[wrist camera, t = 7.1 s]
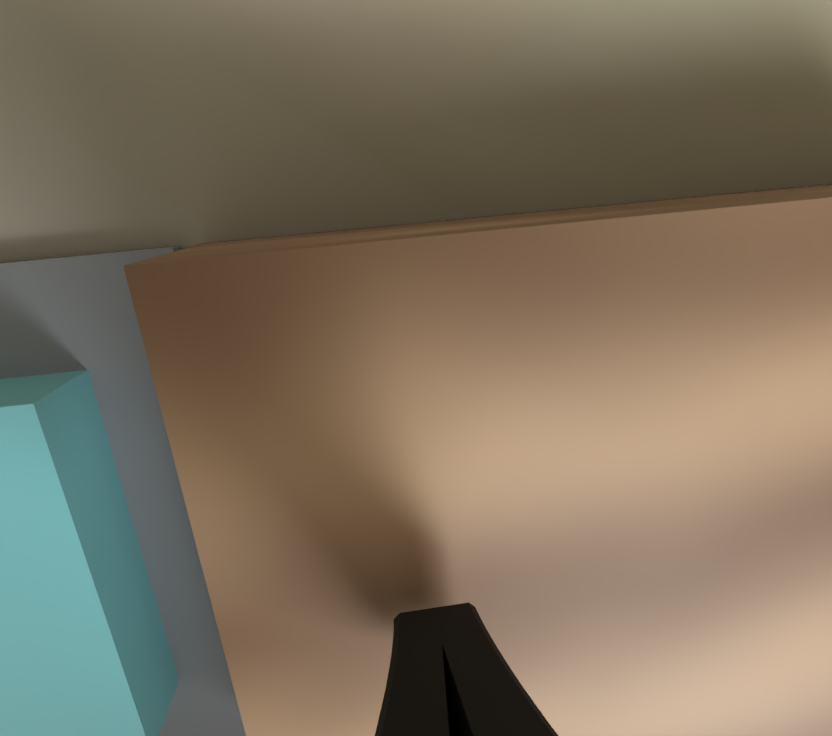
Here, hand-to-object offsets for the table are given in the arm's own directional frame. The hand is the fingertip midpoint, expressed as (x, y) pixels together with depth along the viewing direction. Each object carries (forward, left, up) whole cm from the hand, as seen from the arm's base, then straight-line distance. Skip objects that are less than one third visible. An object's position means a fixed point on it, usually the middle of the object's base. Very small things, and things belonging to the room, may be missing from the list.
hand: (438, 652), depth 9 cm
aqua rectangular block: (0, +10, -2) cm, 10 cm away
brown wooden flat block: (0, -4, -5) cm, 6 cm away
